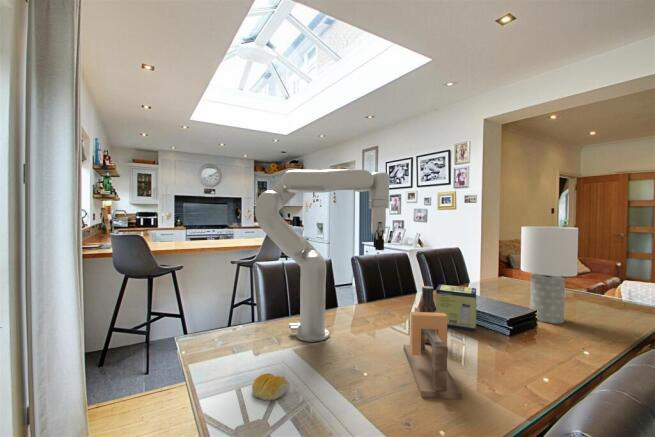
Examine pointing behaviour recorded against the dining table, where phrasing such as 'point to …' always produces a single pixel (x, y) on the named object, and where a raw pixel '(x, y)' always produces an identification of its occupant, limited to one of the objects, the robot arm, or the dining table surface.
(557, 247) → the lamp
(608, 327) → the dining table surface
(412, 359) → the rail stand
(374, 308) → the dining table surface
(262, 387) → the bread roll
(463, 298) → the protein box
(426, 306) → the sauce bottle
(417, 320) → the wooden arch block
